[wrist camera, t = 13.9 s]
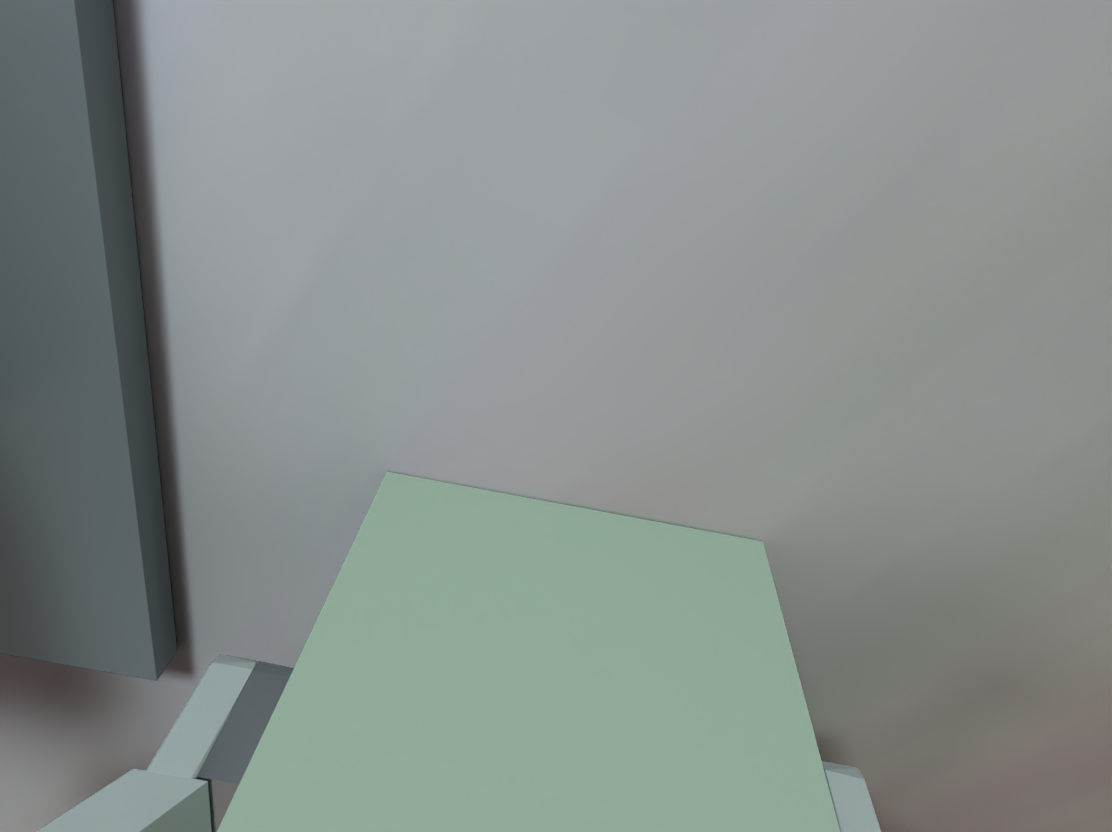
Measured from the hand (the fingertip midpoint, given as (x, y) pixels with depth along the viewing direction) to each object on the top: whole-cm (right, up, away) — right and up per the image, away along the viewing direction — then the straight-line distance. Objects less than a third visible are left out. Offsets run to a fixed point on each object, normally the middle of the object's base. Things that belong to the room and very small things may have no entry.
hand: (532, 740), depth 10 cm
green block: (0, +1, +1) cm, 2 cm away
